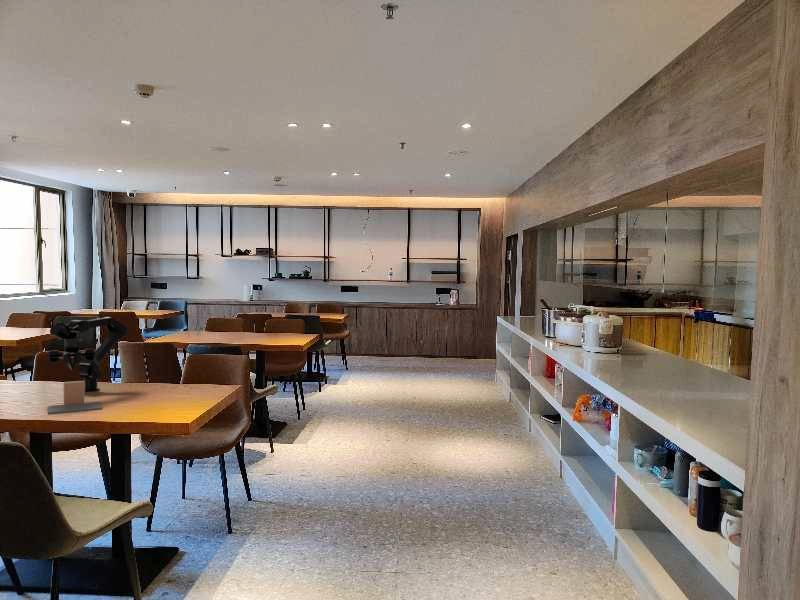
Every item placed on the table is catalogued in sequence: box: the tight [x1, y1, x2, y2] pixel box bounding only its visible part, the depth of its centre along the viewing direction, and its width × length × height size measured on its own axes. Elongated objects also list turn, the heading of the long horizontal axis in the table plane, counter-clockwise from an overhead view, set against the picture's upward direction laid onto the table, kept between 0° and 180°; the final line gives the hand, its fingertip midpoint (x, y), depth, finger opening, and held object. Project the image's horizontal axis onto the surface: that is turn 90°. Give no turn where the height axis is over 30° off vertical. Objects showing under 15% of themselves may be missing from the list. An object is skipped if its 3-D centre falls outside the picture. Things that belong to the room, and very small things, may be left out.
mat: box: [47, 401, 103, 415], centre depth 248 cm, size 13×20×1 cm, turn 122°
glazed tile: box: [62, 380, 85, 405], centre depth 256 cm, size 3×8×10 cm, turn 122°
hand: (72, 369), depth 265 cm, fingers closed
